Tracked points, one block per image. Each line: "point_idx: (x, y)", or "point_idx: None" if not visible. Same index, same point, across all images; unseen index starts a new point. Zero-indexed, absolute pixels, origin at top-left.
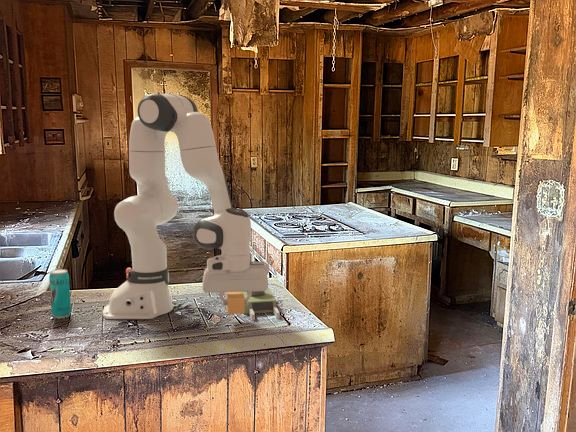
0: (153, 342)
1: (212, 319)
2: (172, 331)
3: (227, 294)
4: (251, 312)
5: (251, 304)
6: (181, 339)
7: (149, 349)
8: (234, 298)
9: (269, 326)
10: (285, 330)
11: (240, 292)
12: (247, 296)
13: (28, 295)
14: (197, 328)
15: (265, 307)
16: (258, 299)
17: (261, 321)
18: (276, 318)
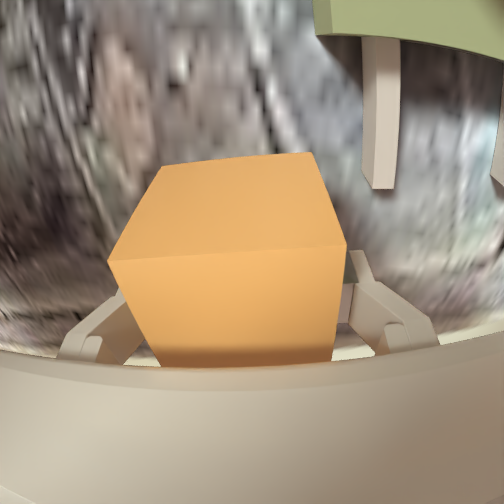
0: (15, 322)
1: (106, 127)
2: (10, 262)
3: (155, 349)
4: (379, 147)
5: (406, 39)
6: (67, 323)
7: (33, 352)
8: None
9: (424, 261)
10: (458, 302)
11: (311, 308)
12: (371, 333)
13: None
14: (73, 245)
15: (486, 57)
16: (478, 5)
17: (411, 192)
18: (491, 172)
